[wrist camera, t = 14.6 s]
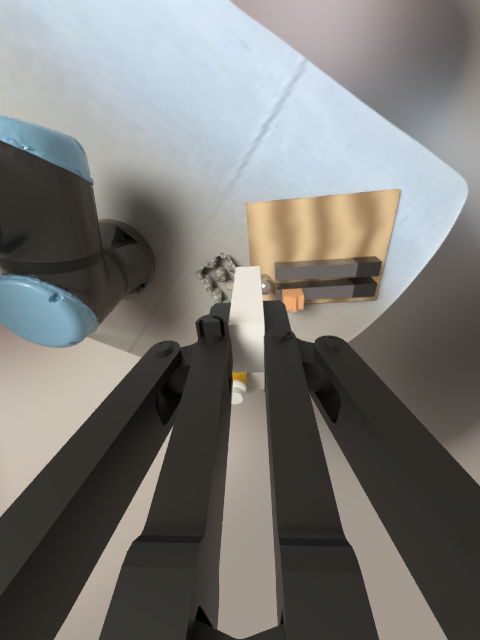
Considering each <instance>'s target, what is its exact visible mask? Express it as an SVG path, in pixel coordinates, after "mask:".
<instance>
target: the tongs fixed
mask: <svg viewBox="0 0 480 640" xmlns="http://www.w3.org/2000/svg"><path fill="white" fill-rule="evenodd" d="M261 287H262V295H267V294H269V293H270V292H271V281H270V277H269V275H267V274H261ZM298 288H301V289H302V291H303V294H304V300H310V299H327V298H344V297H352V298H357V297H375V292H376V288H377V282H376V281H375V280H374V279H373V278H372V277H357V278H349V279H333V280H318V281H302V282H286V283H274V289H275V300H281V301H282V289H298Z"/></svg>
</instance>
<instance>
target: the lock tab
mask: <svg viewBox="0 0 480 640" xmlns="http://www.w3.org/2000/svg"><path fill="white" fill-rule="evenodd" d="M282 302H283V303H284V304H285V306H286V310H291V311H292V312H296V310H299V309H303V306H304V294H303V291H302V289H301V288H298V289H282Z"/></svg>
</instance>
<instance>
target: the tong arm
mask: <svg viewBox="0 0 480 640" xmlns="http://www.w3.org/2000/svg"><path fill="white" fill-rule="evenodd" d="M381 265H382V261H381V260H380V259H378V258H377V257H376V256H370V257H353V258H346V259H328V260H311V261H293V262H276V263H274V276H275V281H281V280H300V279H320V278H339V277H371V276H379V273H380V269H381Z"/></svg>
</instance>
